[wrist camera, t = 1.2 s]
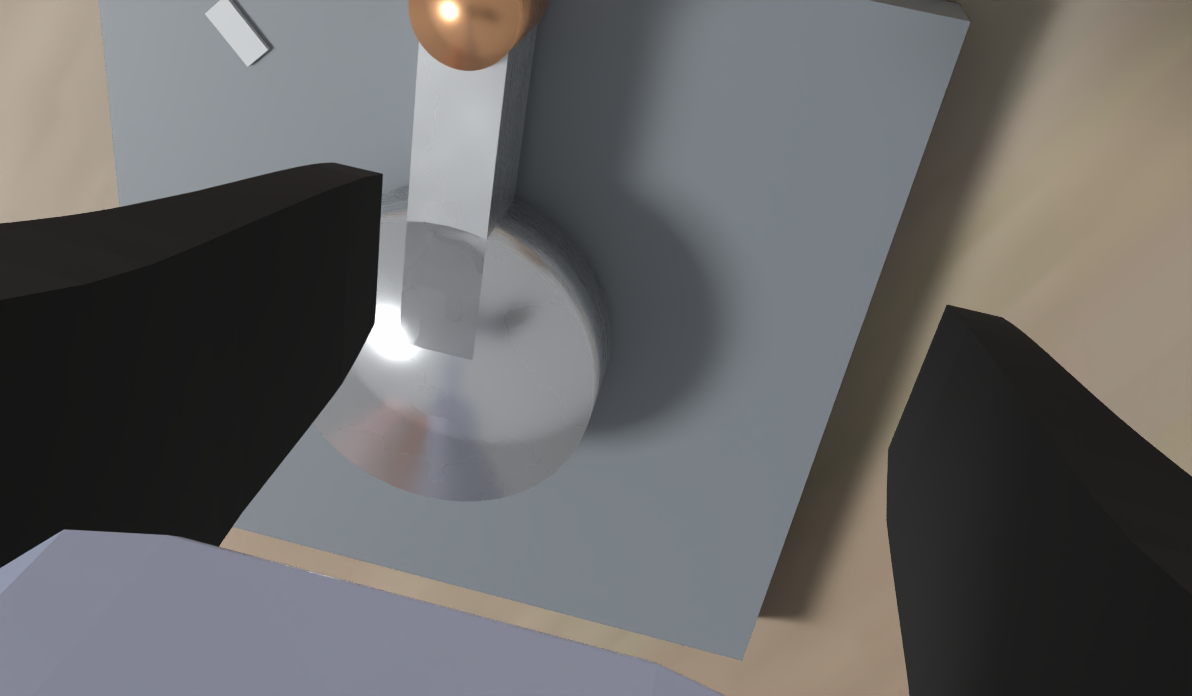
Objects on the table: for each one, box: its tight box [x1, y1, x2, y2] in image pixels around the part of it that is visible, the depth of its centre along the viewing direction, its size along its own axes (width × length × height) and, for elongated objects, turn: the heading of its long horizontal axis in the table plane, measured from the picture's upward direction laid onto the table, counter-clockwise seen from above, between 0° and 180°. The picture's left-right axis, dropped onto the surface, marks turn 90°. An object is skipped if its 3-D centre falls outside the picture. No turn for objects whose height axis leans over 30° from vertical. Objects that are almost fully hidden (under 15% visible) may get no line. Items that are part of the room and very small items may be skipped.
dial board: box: [99, 0, 970, 661], centre depth 22 cm, size 16×16×2 cm
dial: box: [312, 0, 611, 502], centre depth 19 cm, size 11×6×2 cm, turn 170°
